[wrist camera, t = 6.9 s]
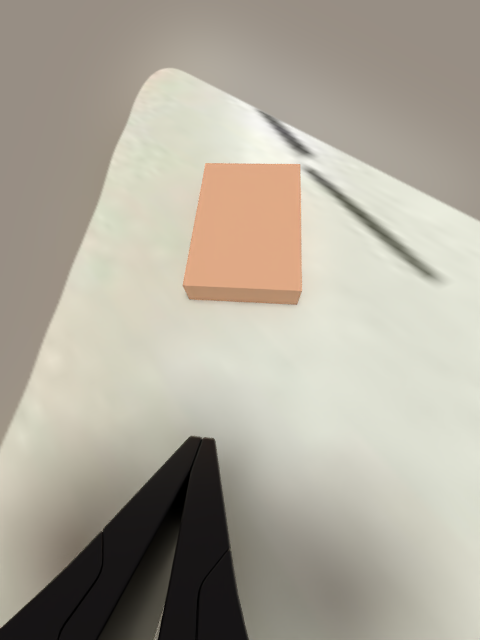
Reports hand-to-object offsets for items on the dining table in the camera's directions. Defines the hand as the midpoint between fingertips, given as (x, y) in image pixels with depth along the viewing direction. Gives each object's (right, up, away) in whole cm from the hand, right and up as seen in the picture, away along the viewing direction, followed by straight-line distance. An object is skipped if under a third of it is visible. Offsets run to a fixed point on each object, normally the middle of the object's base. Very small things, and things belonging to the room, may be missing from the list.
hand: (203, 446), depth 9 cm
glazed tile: (+1, +6, +10) cm, 12 cm away
